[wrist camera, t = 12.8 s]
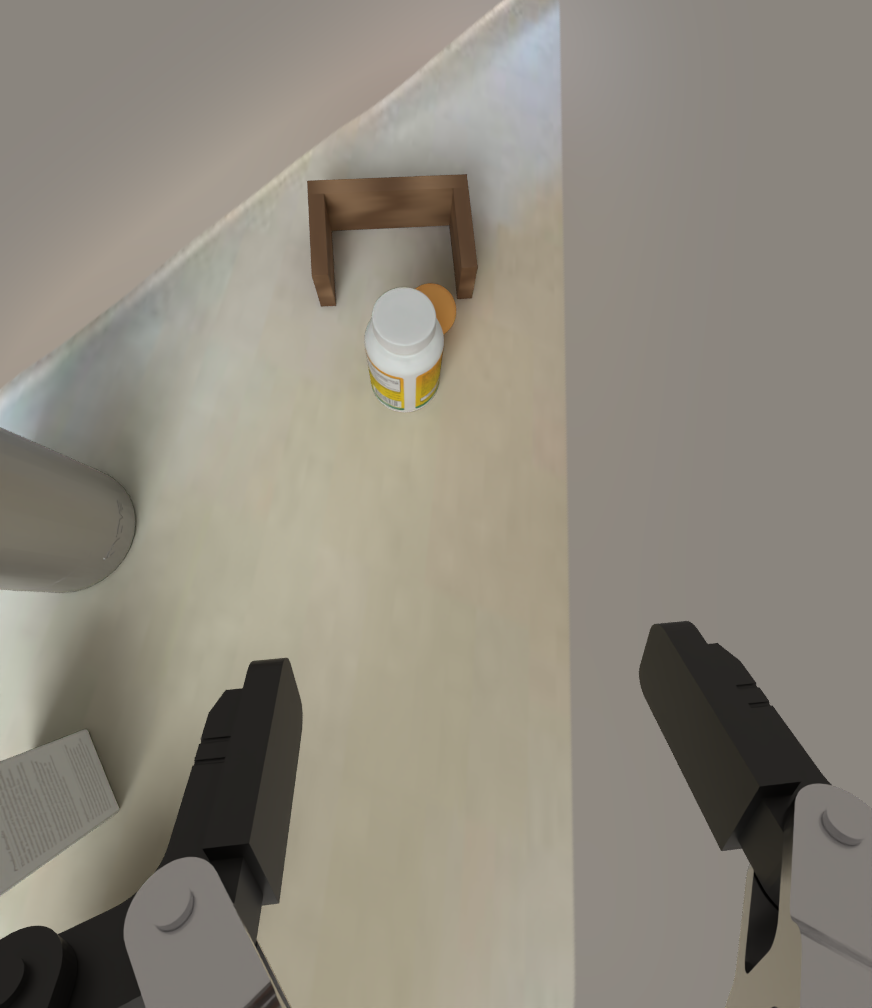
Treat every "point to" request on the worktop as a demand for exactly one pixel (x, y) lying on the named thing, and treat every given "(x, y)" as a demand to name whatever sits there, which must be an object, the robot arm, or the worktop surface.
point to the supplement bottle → (404, 349)
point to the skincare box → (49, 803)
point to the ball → (440, 304)
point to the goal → (390, 219)
